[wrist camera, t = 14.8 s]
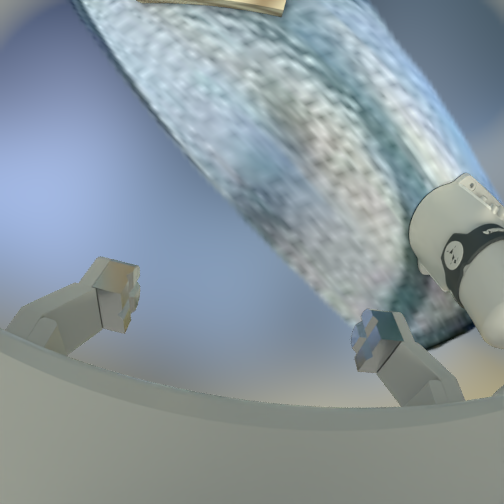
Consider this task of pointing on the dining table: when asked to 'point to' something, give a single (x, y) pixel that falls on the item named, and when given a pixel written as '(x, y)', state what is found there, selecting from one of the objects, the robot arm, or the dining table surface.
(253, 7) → the hole block
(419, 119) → the dining table surface
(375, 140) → the dining table surface
